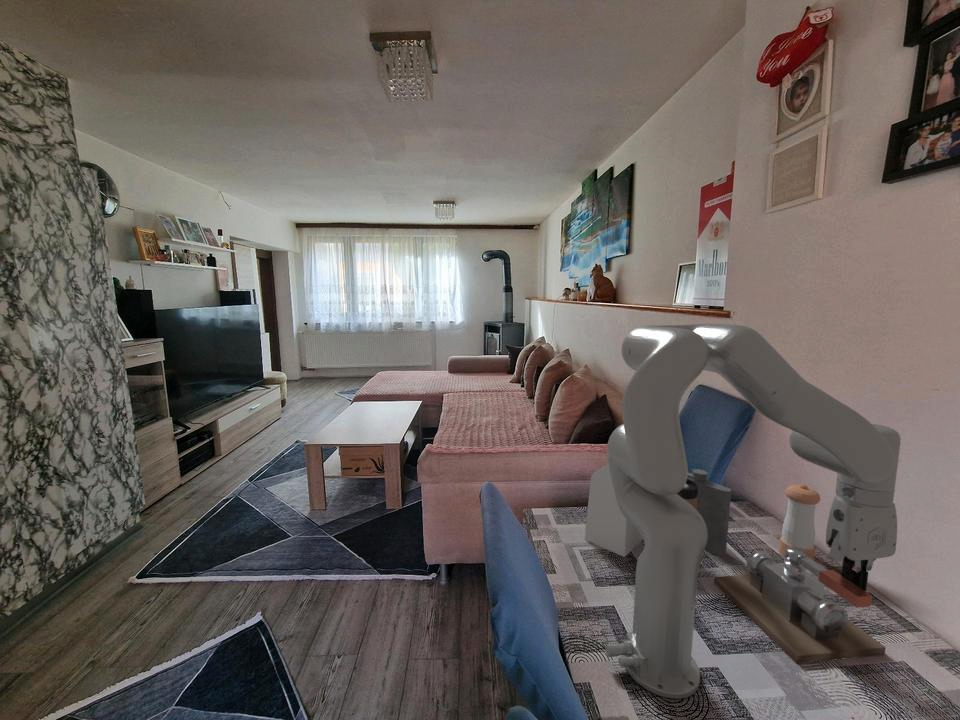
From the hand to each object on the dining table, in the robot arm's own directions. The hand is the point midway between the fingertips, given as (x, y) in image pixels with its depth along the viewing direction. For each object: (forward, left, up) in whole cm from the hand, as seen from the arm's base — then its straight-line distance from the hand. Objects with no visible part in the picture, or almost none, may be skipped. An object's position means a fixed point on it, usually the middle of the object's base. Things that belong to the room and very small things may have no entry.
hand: (853, 587), depth 76 cm
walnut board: (-3, +9, -12) cm, 16 cm away
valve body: (-3, +9, -11) cm, 14 cm away
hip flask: (-5, +37, -13) cm, 39 cm away
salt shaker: (+17, +28, -13) cm, 35 cm away
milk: (-27, +40, -13) cm, 50 cm away
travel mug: (-15, +30, -13) cm, 36 cm away
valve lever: (-3, +3, 0) cm, 4 cm away
